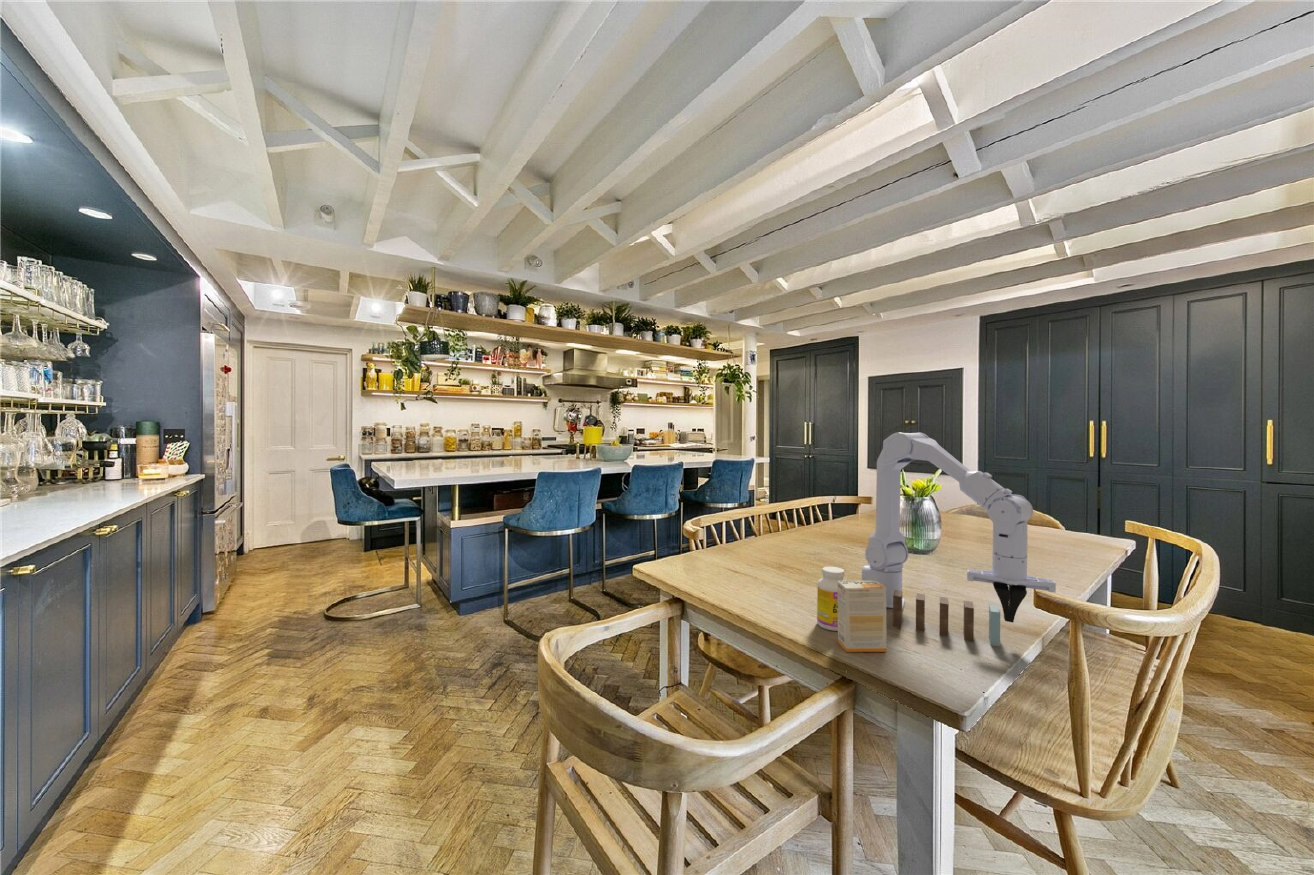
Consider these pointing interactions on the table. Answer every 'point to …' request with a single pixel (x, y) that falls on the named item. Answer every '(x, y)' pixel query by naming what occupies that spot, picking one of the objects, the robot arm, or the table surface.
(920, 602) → the domino
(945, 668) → the table surface
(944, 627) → the domino
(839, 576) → the supplement bottle
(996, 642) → the teal domino
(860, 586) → the supplement box
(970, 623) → the domino
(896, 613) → the domino
